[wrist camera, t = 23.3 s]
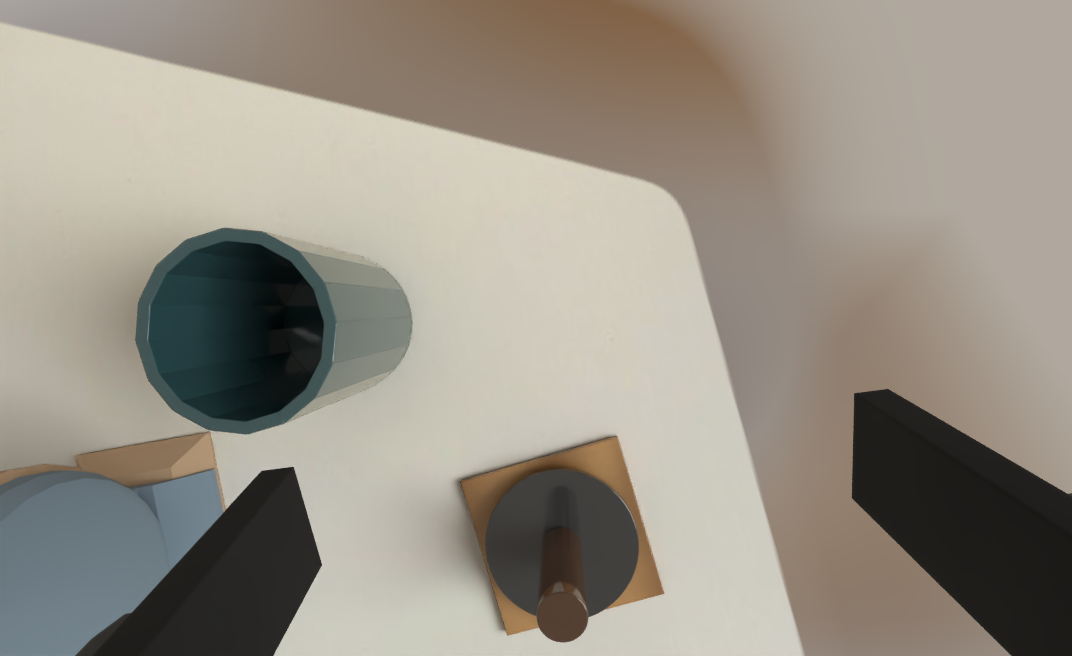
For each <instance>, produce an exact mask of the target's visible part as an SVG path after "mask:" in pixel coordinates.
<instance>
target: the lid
mask: <svg viewBox="0 0 1072 656" xmlns="http://www.w3.org/2000/svg"><path fill="white" fill-rule="evenodd" d="M485 551H486V558H487V562H488V566H489V569H490V572H491V574H492V576H493V579H494V580H495V582H496V584H497V585H498V587H499V588H500V590H501V591H502V592H503V593H504V595H505V596H506V597H507V598H508V599H509V600H510V601H511V602H513V603H514V604H515V605H516V606H518V607H519V608H521V609H522V610H524V611H526V612H527V613H529V614H532V615H534V616H536V618H537V623H538V626H539V628H540V630H541V631H542V633H543V634H544V635H545V636H546V637H548V638H549V639H551V640H553V641H556V642H569V641H572V640H575V639H577V638H578V637H579V636H580V635H581V634H582V633H583V632H584V630H585V629H586V626H587V623H588V617H590V616H593V615H595V614H597V613H599V612H601V611H603V610H605V609H606V608H607V607H609V606H610V605H611V604H613V603H614V602H615V601H616V600H617V599H618V598H619V597H620V596H621V595H622V593H623V592H624V591H625V590H626V588H627V586H628V585H629V583H630V581H631V580H632V577H633V575H634V573H635V570H636V566H637V562H638V556H639V538H638V531H637V528H636V524H635V521H634V518H633V516H632V514H631V511H630V509H629V508H628V506H627V504H626V502H625V501H624V500H623V498H622V497H621V496H620V495H619V493H618V492H617V491H616V490H615V489H614V488H612V487H611V486H610V485H609V484H607V483H606V482H605V481H603V480H602V479H600V478H598V477H596V476H594V475H592V474H590V473H587V472H584V471H580V470H577V469H570V468H552V469H545V470H541V471H537V472H535V473H532V474H530V475H527V476H526V477H524V478H522V479H520V480H519V481H517V482H516V483H515V484H513V485H512V486H511V487H510V488H509V489H508V490H507V491H506V492H505V493H504V494H503V495H502V497H501V498H500V499H499V501H498V502H497V504H496V506H495V507H494V509H493V512H492V514H491V516H490V519H489V522H488V526H487V530H486V538H485Z"/></svg>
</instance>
